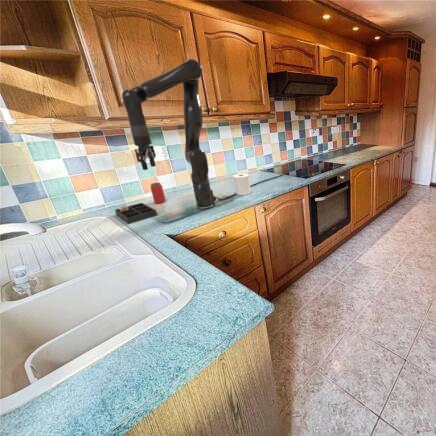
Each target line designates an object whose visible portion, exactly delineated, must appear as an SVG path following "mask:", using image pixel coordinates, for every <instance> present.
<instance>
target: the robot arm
mask: <svg viewBox="0 0 436 436" xmlns="http://www.w3.org/2000/svg"><path fill="white" fill-rule="evenodd" d="M202 75H203V67H202V65H201V64H200V62H199V61H198V60H195V59H194V58H187V59H186V60H184V61H183V62H182V63H181V64H179V65H178V66H176V67H175V68H173V69H171V70H169V71H168V72H167V71H166V72H165V73H162V74H161V75H157V76H154V77H152V78H150V79H148V80H145V81H143V82H142V83H140V84H139V85H137V86H135V87H132V88H126V89H124V90H123V91H122V93H121V98H122V101H123V104H124V108H125V111H126V113H127V114H126V115H127V120H128V123H129V128H130V133H131V137H132V140H133V144H134V146H135V147H137V148H135V149H134V152H135V156H136V161H137V162H138V163H140V165H141V168H142V170H143V171H148V170H149V167H148V163H147V159H149V164H150V167H152V168H153V167H156V165H157V164H156V161H155V158H156V156H157V155H156V152H155V148H154V145H152V143H153V142H152V139H151V134H150V131H149V128H148V125H147V122H146V121H147V120H146V117H145V113H144V112H143V106H142V103H145V102H146V101H147V100H149V99H153V98H156V97H157V96H160V95H163V94H164V93H166V92H168V91H169V90H171V89H173V88H174V87H176V86H178V85H181V84H182V88H183V101H182V102H183V103H182V104H183V106H182V107H183V122H184V123H183V124H184V136H185V144H184V145H185V146H184V158H185V161H186V163H188V164H189V165H190V166H191V167H190V168H191V173H190V179H191V183H192V188H193V193H194V198H195V203H196V208H197V209H198V210H207V209H211V208H212V207H214V206H216V203H215V202H217V200H218V201H225V200H228V199H230V198H232V197H234V196H236V195H237V194H236V192H235V193H233V194H231V195H229V196H227V197H225V198H220V197H217V196H215V195H214V191H213V189H212V188H211V184H210V178H209V162H208V157H207V154H206V152H205V151H204V150H202V149H201V148H200V137H201V132H202V129H203V123H204V122H203V121H204V119H203V107H202V102H201V99H200V95H199V82H200V78H201V76H202ZM282 176H284V175H283V174H280V175H277V176H273V177H271V178H266V179H263V180H261V181H258V182H255V183H253V184H250V188H252V187H253V186H256V185H259V184H261V183H263V182H266V181H269V180H273V179H276V178H279V177H282Z"/></svg>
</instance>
